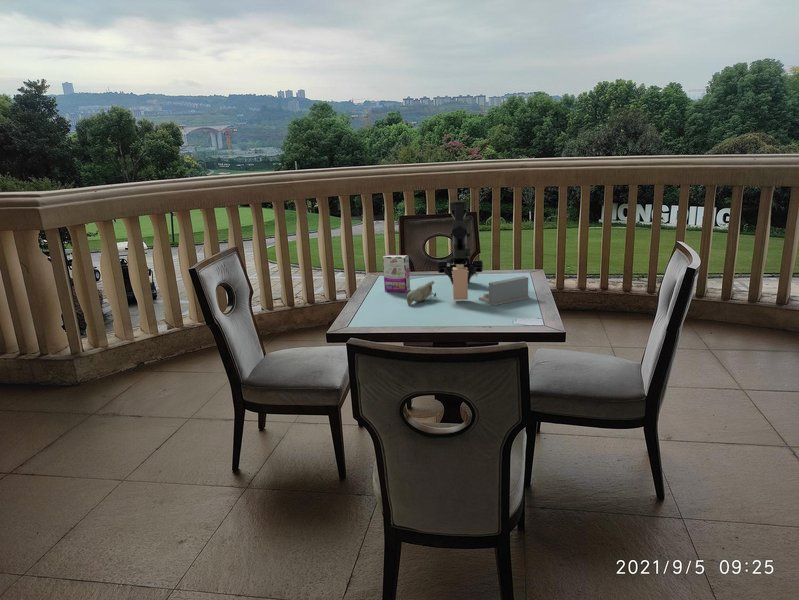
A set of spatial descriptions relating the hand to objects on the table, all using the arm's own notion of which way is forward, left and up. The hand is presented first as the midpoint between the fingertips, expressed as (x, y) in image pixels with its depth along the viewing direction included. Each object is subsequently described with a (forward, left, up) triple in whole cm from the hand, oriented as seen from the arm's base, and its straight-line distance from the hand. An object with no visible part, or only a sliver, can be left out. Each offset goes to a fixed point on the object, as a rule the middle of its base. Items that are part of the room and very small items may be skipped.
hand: (460, 283), depth 225 cm
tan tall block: (0, +1, -7) cm, 7 cm away
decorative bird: (-17, +1, -8) cm, 19 cm away
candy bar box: (-31, +16, -8) cm, 36 cm away
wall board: (+17, +7, -8) cm, 20 cm away
